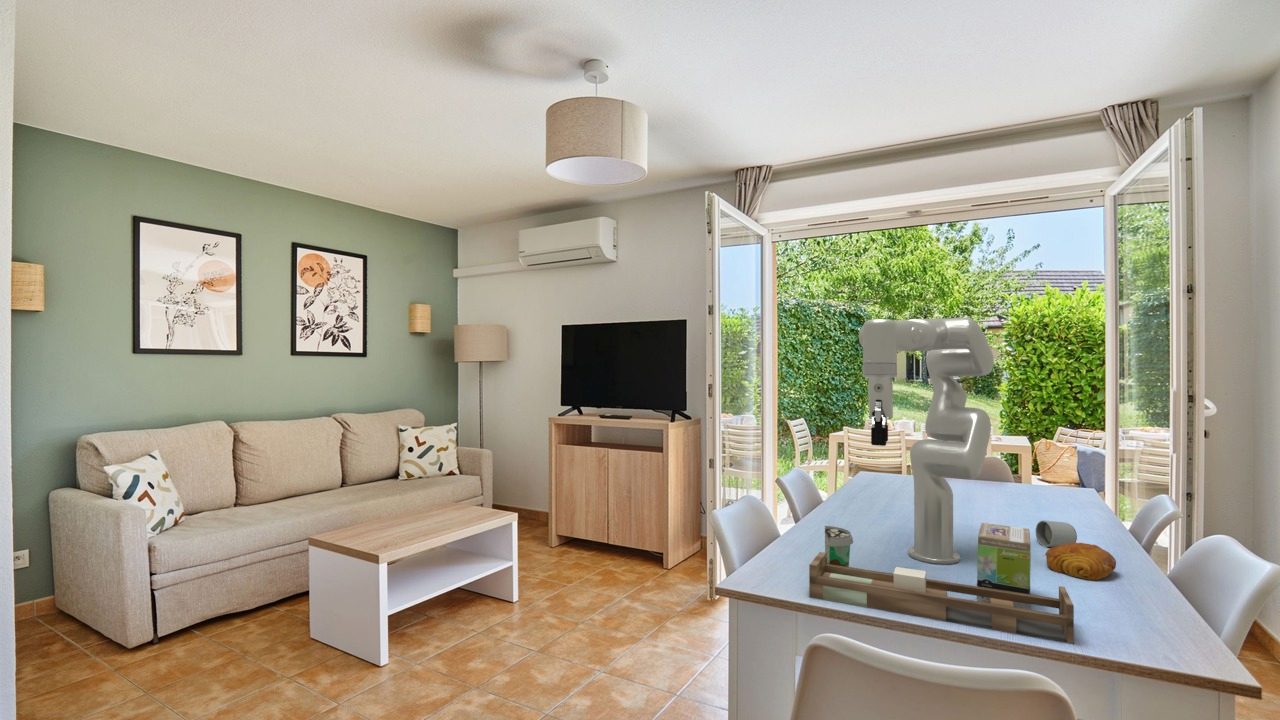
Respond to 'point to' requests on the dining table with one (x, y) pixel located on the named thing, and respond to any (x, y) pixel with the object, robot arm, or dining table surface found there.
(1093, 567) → the swirled bread bun
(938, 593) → the wooden rack
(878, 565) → the dining table surface
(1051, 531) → the ceramic mug
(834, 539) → the food container
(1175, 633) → the dining table surface
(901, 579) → the block
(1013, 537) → the tea box
